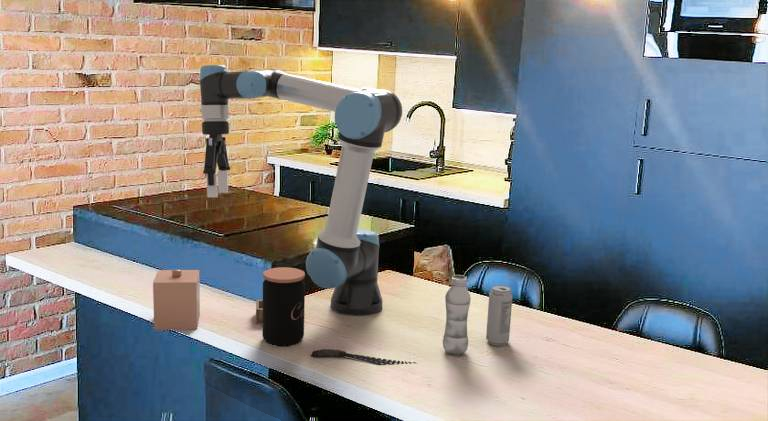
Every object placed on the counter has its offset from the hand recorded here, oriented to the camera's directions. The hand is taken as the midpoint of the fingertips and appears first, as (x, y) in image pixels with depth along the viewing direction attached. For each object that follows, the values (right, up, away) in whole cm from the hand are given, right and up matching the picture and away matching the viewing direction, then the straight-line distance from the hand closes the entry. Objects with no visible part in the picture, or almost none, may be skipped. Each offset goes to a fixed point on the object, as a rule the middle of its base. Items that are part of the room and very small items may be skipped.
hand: (218, 195), depth 230 cm
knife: (+44, -42, -33) cm, 69 cm away
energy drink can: (+78, -40, -18) cm, 89 cm away
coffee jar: (+21, -38, -22) cm, 49 cm away
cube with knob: (-8, -35, -13) cm, 38 cm away
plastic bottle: (+66, -41, -26) cm, 82 cm away
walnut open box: (+17, -34, -7) cm, 39 cm away
